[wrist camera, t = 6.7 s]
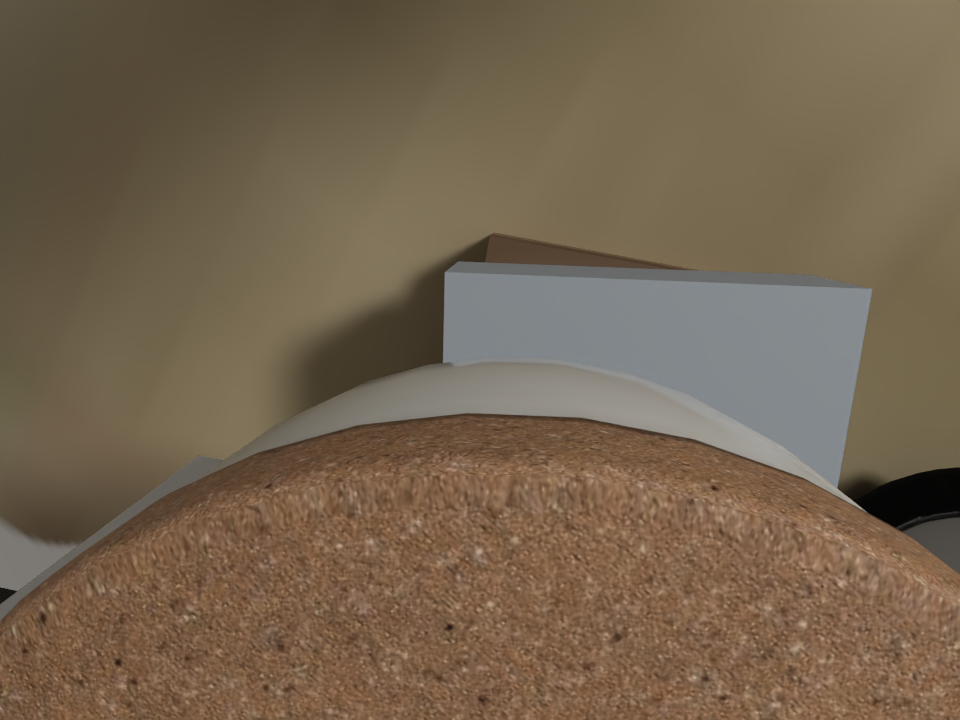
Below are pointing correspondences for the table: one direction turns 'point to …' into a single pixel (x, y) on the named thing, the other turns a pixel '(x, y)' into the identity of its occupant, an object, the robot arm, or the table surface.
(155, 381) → the table surface
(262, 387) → the table surface
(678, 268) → the tower base
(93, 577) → the lidded jar
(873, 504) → the portable speaker
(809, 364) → the tower top
